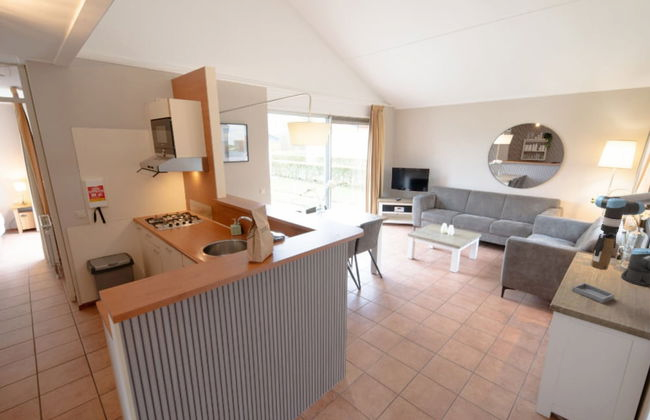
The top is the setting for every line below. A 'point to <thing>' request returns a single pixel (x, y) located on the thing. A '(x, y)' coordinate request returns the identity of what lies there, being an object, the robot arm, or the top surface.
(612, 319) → the top surface
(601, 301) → the tray
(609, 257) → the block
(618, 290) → the top surface
